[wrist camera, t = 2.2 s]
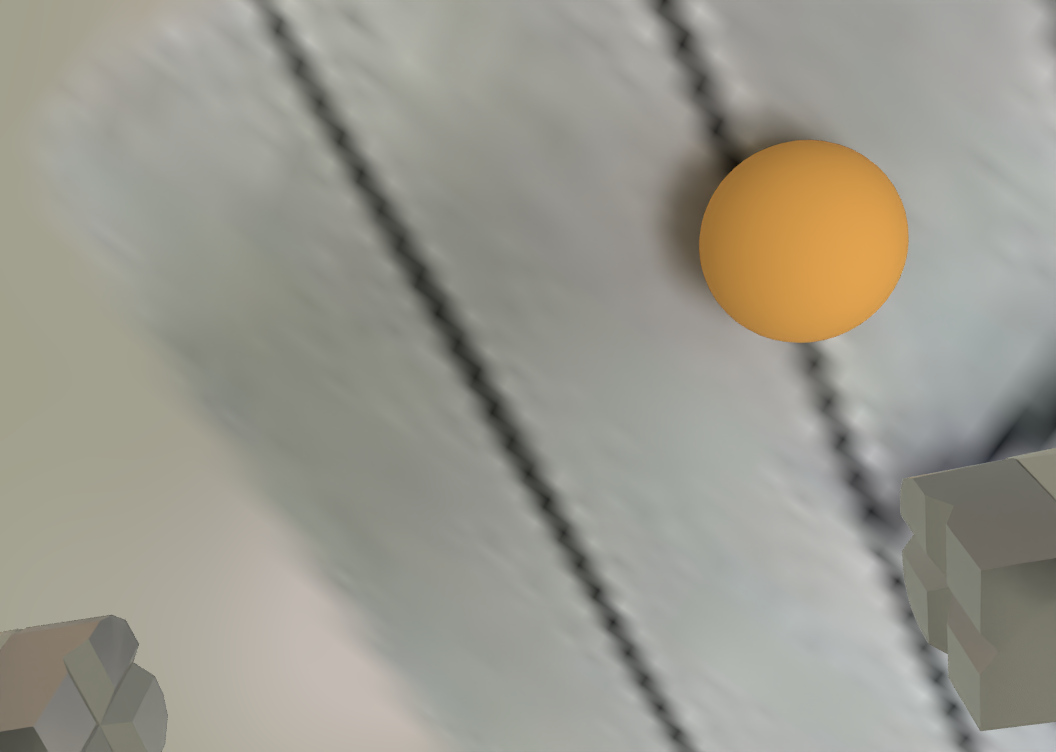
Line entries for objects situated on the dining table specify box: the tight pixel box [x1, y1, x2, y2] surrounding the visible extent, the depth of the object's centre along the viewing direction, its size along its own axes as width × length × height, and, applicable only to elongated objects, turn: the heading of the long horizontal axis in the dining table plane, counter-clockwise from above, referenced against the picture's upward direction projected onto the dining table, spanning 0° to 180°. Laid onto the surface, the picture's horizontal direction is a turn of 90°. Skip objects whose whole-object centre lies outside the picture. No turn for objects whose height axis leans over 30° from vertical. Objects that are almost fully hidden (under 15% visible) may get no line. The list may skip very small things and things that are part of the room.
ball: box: [699, 140, 908, 343], centre depth 28 cm, size 6×6×6 cm
